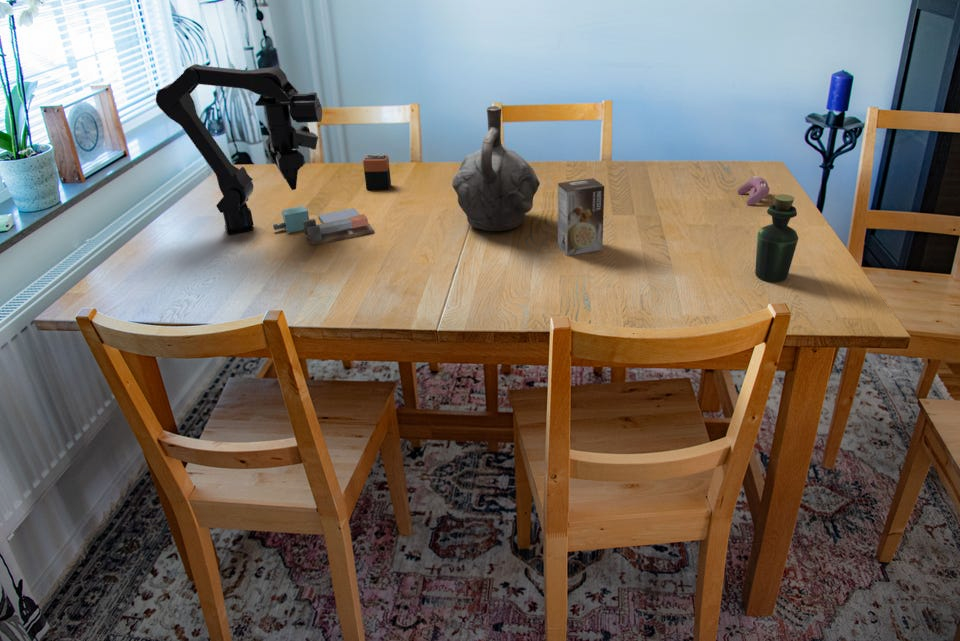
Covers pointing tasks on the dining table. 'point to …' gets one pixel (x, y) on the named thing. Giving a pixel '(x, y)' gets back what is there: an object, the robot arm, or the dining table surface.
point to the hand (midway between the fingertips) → (290, 184)
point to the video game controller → (754, 190)
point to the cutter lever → (343, 224)
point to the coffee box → (580, 216)
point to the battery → (377, 172)
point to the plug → (293, 219)
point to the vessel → (495, 182)
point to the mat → (337, 215)
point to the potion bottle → (777, 241)
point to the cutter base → (318, 238)
